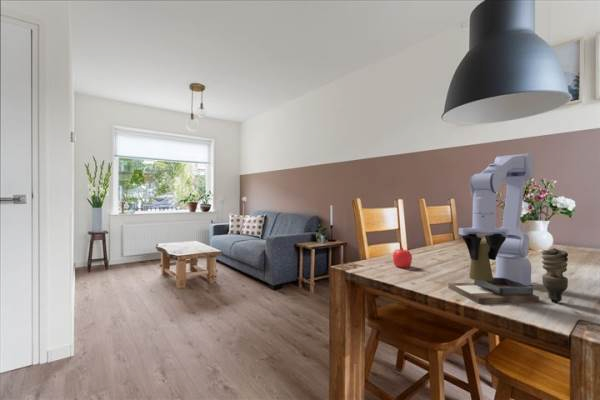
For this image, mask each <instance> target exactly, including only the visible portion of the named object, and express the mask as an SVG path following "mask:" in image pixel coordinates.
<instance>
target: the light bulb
mask: <svg viewBox="0 0 600 400" xmlns="http://www.w3.org/2000/svg"><path fill="white" fill-rule="evenodd" d="M540 253H541V254H542V255H541V256H540V257H541V259H543V260H542V261H541V263H542V269H544V270H546V273H545V274H542V275H541V277H542V278H541V280H542V286H544V287H545V289H546V290H547V295H548V297H547V298H548V299H550V300H551V303H555V304H558V302H561V301H563V293H564V292H565V291H566V290H568V287H569V286H568V285H569V280H568V278H567V277H566V276H564V275H563V273H565V272H567V271H568V268H567V267H568V263H567V262H568V261H569V258H568V257H569V254H568V252H566V251H564V250H561V249H558V248H555V247H552V248H549V249H542V250H541V252H540Z"/></svg>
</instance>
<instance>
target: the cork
mask: <svg viewBox="0 0 600 400" xmlns="http://www.w3.org/2000/svg"><path fill="white" fill-rule="evenodd" d="M489 251H490V245H489V244H488V243H487V242H486V241H481V242H480V246H479V255H478V260H473V259H471V258H470V269H469V279H471V280H473V281H474V280H478V281H492V280H493V277H494V276H493V272H492V267H491V262H490V260H491V259H489V255H488V253H489Z"/></svg>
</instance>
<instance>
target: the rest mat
mask: <svg viewBox="0 0 600 400" xmlns="http://www.w3.org/2000/svg"><path fill="white" fill-rule="evenodd" d="M456 287H458V288H460V289H462V290H464V291H466V292H468V293H470V294H494V293H493V292H490V291H488V290H486V289H483V288H481V287H479V286H476V285H468V286H456Z"/></svg>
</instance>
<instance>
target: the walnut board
mask: <svg viewBox="0 0 600 400" xmlns="http://www.w3.org/2000/svg"><path fill="white" fill-rule="evenodd" d="M447 285H448V286H447V287H448V289H450V290H451V291H454V292H456V293H458V294H460V295H461V296H463V297H465V298H467V299H469V300H471V301H473V302H475V303H477V304H483V305H484V304H509V303H513V304H514V303H515V304H516V303H539V302H540V296H539V295H536V294H534V293H533V294H532V295H513V296H502V295H497V294H495V293H494V294H470V293H468V292H466V291H464V290H462V289H460V288H458V287H456V286H468V285H474V282H453V283H452V282H451V283H450V282H449V283H448V284H447ZM476 286H477V285H476ZM495 286H498V287H500V288H509V286H506V285H504V284H496V285H495Z"/></svg>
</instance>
